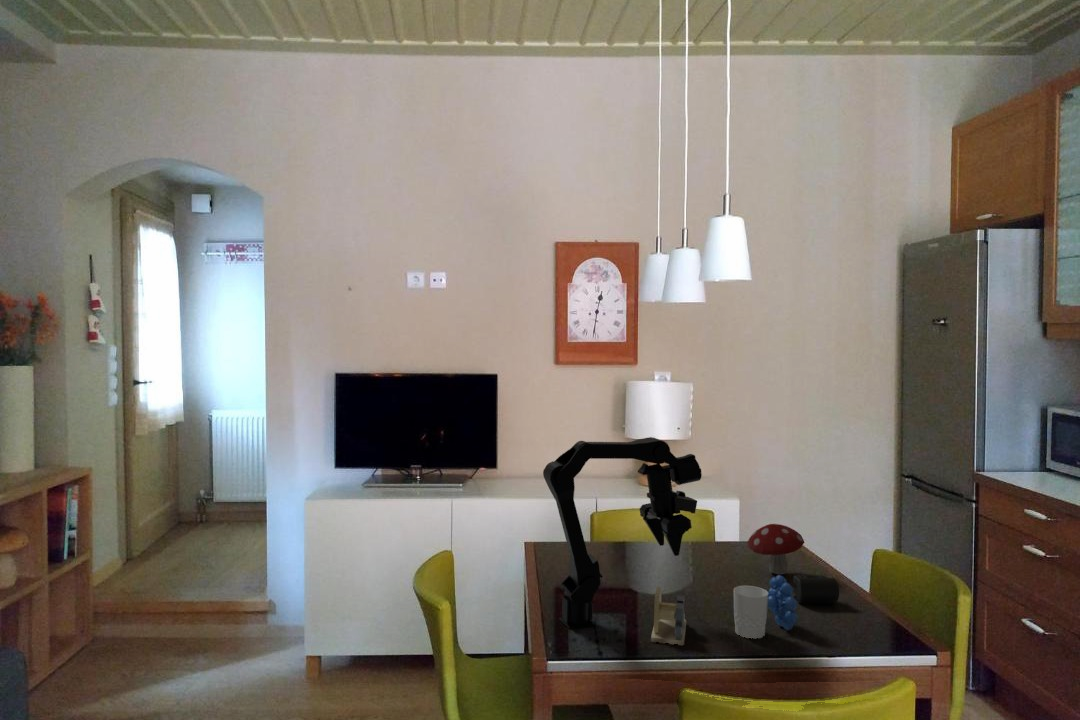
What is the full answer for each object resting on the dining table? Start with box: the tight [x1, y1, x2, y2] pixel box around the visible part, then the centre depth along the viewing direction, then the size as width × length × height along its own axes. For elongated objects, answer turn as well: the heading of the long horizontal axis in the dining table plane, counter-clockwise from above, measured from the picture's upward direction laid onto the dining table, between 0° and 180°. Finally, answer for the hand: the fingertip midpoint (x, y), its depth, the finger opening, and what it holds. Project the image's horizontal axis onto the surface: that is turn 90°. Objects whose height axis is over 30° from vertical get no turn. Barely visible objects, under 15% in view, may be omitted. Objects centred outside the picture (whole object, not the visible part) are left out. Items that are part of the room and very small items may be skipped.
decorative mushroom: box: [747, 523, 805, 575], centre depth 215 cm, size 16×16×15 cm
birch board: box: [650, 619, 687, 646], centre depth 172 cm, size 7×13×1 cm, turn 166°
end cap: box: [792, 574, 840, 605], centre depth 193 cm, size 10×7×7 cm
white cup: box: [733, 585, 769, 640], centre depth 172 cm, size 8×8×10 cm
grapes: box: [767, 574, 799, 631], centre depth 176 cm, size 12×7×12 cm, turn 11°
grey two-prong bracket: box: [674, 595, 686, 640], centre depth 171 cm, size 2×12×6 cm, turn 166°
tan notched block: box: [653, 586, 676, 633], centre depth 172 cm, size 4×8×8 cm, turn 166°
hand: (669, 550), depth 182 cm, fingers open, 9 cm apart
